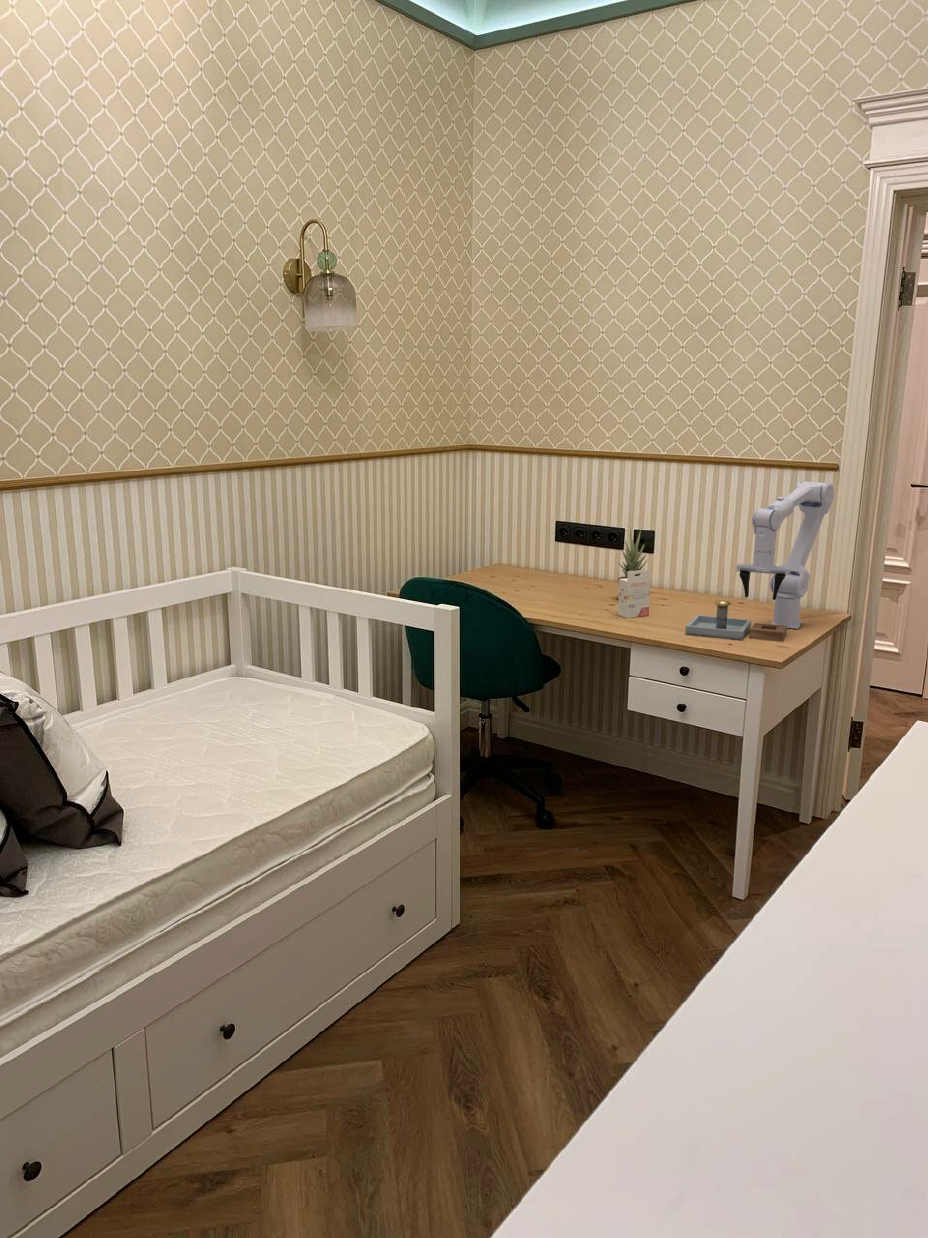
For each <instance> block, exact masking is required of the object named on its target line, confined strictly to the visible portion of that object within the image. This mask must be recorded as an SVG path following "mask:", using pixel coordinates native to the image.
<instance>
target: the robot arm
mask: <svg viewBox="0 0 928 1238" xmlns="http://www.w3.org/2000/svg"><path fill="white" fill-rule="evenodd" d="M834 499H835V489H834V485H833V484H832V483H831V482H828V481H827V482H818V481H807V480H800V481H799V482H797V483H796V484H795V486H794V490H792V492H790V493H789V494H788V495H787V496H786V497H785V496H778V497H776V500H774V501H773V502H771V503H770V504H768V505H767V506H766V507H765V508H762V507H761V508H758V509H757V510H755V512H754V513H753V517H752V519H751V523H752V526H753V534H754V547H753V560H752V564H749V563H748V564H745V563H744V564H743V563H737V564H736V567H735V568H736V572H738V573H739V578H740V580H741V582H742V585H743V590H744V597H745V598H749V596H750V595H749V594H750V579H751V573H757V574H758V573H759V574H767V575H768V574H769V575H770V574H771V577H770V580H769V588H770V591H771V592H772V600H773V601H774V607H773V608H774V609H773V620H772V621H771V622H770V624H772V625H783V626H787V629H794V630H795V629H796V630H797V629H800V626H801V624H802V620H800V611H801V609H800V607H801V598H803V597H804V596H805V595H806V594H807V592H808V589H809V582H810V578H811V576H810V573H809V572H808V570H807V569H806V568H805V567H806V564H807V562H808V559H809V557H810V553H811V551H812V548H813V546H814V544H815V541H816V538H817V535H818V533H819V530H820V528H821V526H822V523H823V520H824V518H825V515H827V514H828V513H829V511H830V508H831V507H832V504H833V501H834ZM797 506H798V508H799V511H801V512H802V513H804V517H803V519H802V523H801V525H800V528H799V530H798V533H797V535H796V538H795V541H794V543H793V546H792V549H791V550H790V552H789V555H788V558H787V561H786V562H784V563H782V564H781V565H778V566H776V565H775V556H776V555H775V554H776V546H777V545H776V543H777V542H776V541H777V532H778V531H777V530H779V529H780V528H781V526H782V524H783V522H784V520H785V519H786V518H788V517H790V515H792V513H793V512H794V509H795V507H797Z"/></svg>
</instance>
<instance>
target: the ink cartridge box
mask: <svg viewBox="0 0 928 1238" xmlns="http://www.w3.org/2000/svg"><path fill="white" fill-rule="evenodd" d="M650 572H651V571H650V569H645V570H643V569H641V570H638V571H628V572H627V578H625V579H619V584H618V604H617V605H618V609H617V610H618V613H617V615H618V616H619V615H620V617H622V618H626V619H629V618H630V619H631V618H639V617H641V618H642V617H649V616H650V595H651V593H650V589H651V577H650ZM638 573H639V574H640V575H639V576H635V574H638Z"/></svg>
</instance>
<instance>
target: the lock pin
mask: <svg viewBox="0 0 928 1238" xmlns="http://www.w3.org/2000/svg"><path fill="white" fill-rule="evenodd" d="M731 603H732V602H731V601H730V600H727V599H717V600H716V599H715V600H714V604H715V605H716V617H717V618H716V628H718V629H727V618H728V613H729V612H728V611H729V606H731Z"/></svg>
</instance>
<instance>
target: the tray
mask: <svg viewBox="0 0 928 1238" xmlns="http://www.w3.org/2000/svg"><path fill="white" fill-rule="evenodd" d="M716 618H717V616H714V615H703V614H702V615H701V614H700V615H699V614H696V615H695V616H694V617H693V618H692V619H691V620H690V621H689V622H688V623H687V624H686V626H685V635H687V636H694V637H695V636H696V637H706V638H713V639H714V638H718V639H726V640H734V641H735V640H736V641H743V640H744V639H745V637H746V636H747V634H748V633H749V632H750V629H751V628H752V619H745V618H733V617H727V629H718V628H716Z"/></svg>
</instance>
